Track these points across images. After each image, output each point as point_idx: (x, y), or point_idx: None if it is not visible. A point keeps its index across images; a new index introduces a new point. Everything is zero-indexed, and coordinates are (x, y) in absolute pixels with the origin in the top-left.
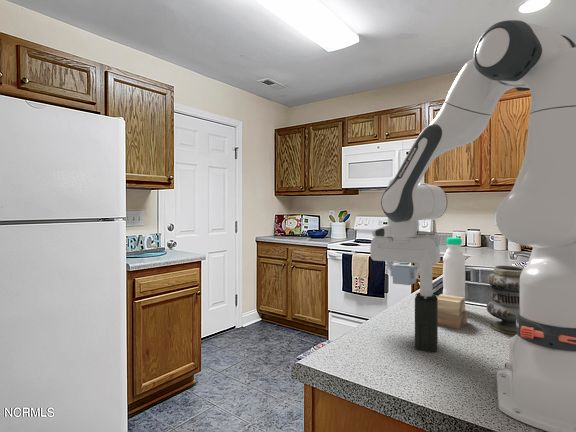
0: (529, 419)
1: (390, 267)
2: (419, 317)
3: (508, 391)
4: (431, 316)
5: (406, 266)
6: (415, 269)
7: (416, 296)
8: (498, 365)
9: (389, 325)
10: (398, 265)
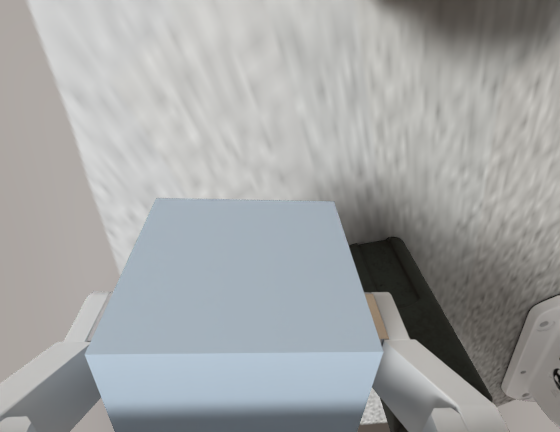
0: (535, 401)
1: (69, 427)
2: None
3: (532, 364)
4: None
5: (277, 429)
6: (367, 306)
7: (398, 429)
8: (552, 258)
9: (184, 147)
10: (135, 413)
